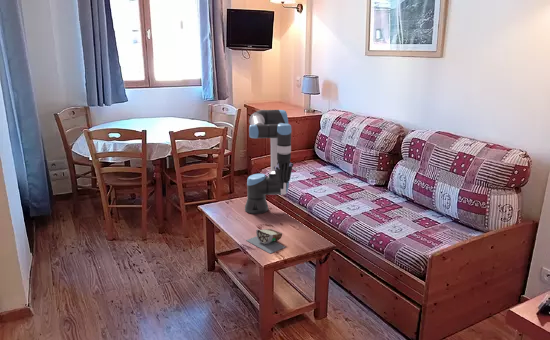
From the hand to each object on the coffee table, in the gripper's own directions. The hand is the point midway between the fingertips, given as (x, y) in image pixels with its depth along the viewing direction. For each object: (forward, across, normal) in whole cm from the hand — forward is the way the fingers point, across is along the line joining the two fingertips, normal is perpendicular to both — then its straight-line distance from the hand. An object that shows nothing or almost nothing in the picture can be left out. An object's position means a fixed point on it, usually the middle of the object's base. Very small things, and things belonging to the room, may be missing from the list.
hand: (283, 193), depth 241 cm
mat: (+24, +16, +3) cm, 29 cm away
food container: (+23, +7, +3) cm, 24 cm away
